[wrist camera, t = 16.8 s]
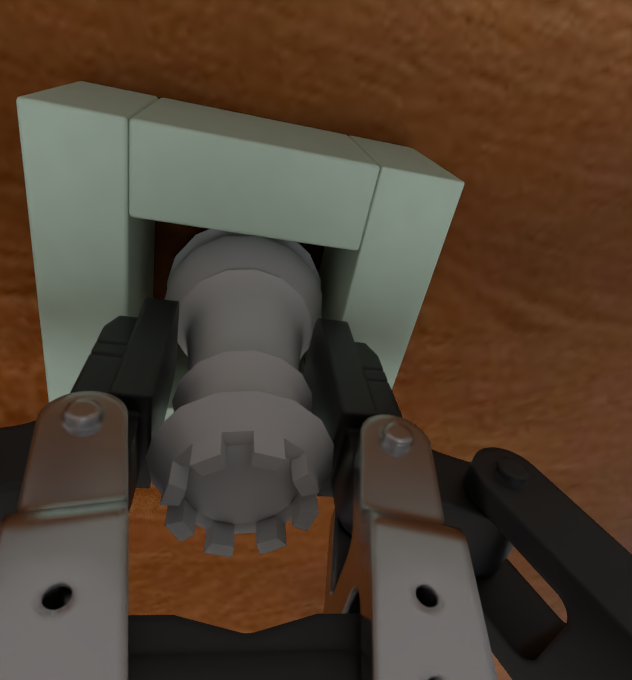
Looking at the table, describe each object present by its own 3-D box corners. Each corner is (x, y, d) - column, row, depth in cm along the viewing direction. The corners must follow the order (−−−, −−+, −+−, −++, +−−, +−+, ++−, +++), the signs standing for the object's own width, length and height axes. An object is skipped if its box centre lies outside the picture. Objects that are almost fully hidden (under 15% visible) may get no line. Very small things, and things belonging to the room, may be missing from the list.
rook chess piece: (330, 334, 16) (390, 560, 9) (195, 362, 16) (154, 609, 9) (305, 200, 13) (362, 369, 6) (146, 233, 13) (36, 438, 6)
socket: (413, 147, 14) (466, 182, 11) (342, 392, 19) (363, 470, 15) (78, 79, 12) (13, 95, 9) (91, 371, 17) (53, 454, 13)
